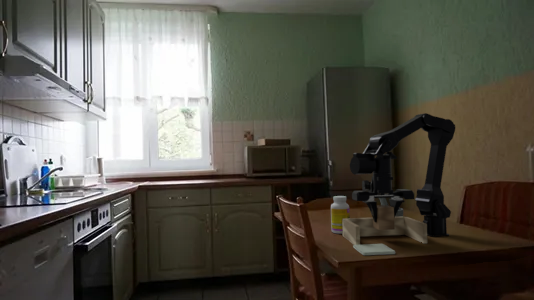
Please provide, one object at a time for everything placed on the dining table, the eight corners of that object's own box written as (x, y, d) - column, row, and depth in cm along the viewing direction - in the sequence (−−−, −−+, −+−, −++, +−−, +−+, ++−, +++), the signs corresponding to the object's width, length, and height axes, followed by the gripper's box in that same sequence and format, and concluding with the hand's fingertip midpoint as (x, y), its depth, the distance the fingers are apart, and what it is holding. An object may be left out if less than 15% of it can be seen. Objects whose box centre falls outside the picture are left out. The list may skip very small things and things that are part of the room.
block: (388, 226, 122) (387, 205, 122) (394, 229, 117) (393, 207, 117) (373, 227, 122) (372, 205, 122) (379, 230, 117) (378, 207, 117)
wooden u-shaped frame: (406, 233, 128) (405, 216, 128) (427, 243, 114) (426, 223, 114) (342, 236, 126) (342, 218, 127) (356, 246, 112) (355, 226, 112)
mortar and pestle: (409, 228, 138) (408, 195, 138) (388, 230, 135) (387, 197, 135) (390, 223, 149) (389, 193, 149) (370, 225, 146) (369, 194, 146)
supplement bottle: (350, 234, 129) (349, 197, 130) (331, 234, 131) (330, 197, 131) (349, 230, 136) (349, 195, 136) (331, 230, 137) (330, 195, 138)
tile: (382, 246, 111) (382, 243, 111) (395, 254, 102) (395, 251, 102) (353, 247, 111) (353, 244, 111) (363, 255, 102) (363, 252, 102)
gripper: (399, 171, 128) (400, 216, 128) (346, 173, 127) (347, 218, 127) (414, 173, 117) (416, 222, 117) (356, 174, 116) (358, 224, 115)
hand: (383, 221), depth 119 cm, fingers closed on block, 5 cm apart
